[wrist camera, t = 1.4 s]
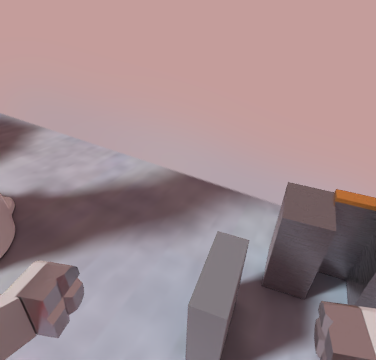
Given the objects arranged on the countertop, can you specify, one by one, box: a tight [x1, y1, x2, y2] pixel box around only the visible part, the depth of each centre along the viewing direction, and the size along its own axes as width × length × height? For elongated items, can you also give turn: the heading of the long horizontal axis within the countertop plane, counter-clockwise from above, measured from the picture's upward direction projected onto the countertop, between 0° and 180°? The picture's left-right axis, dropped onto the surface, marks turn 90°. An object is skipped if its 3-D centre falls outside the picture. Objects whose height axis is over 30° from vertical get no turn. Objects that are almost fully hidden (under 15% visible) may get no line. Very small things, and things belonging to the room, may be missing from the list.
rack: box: [262, 182, 376, 309], centre depth 32 cm, size 14×6×12 cm, turn 70°
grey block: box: [186, 232, 249, 360], centre depth 28 cm, size 3×8×10 cm, turn 159°
